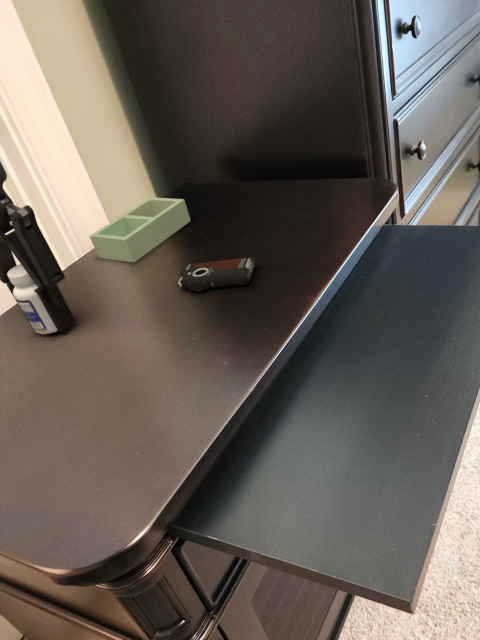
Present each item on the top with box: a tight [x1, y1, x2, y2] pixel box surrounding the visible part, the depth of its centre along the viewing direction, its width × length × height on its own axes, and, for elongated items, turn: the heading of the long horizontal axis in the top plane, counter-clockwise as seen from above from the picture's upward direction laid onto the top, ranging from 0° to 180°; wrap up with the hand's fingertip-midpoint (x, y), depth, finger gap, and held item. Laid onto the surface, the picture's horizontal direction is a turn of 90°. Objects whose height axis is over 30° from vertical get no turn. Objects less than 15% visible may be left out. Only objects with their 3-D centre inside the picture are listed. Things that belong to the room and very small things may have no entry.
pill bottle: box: [7, 263, 59, 335], centre depth 72 cm, size 5×5×9 cm
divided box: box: [89, 196, 192, 263], centre depth 93 cm, size 8×16×4 cm, turn 152°
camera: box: [177, 256, 256, 293], centre depth 77 cm, size 6×3×11 cm
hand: (52, 322), depth 75 cm, fingers closed on pill bottle, 5 cm apart
